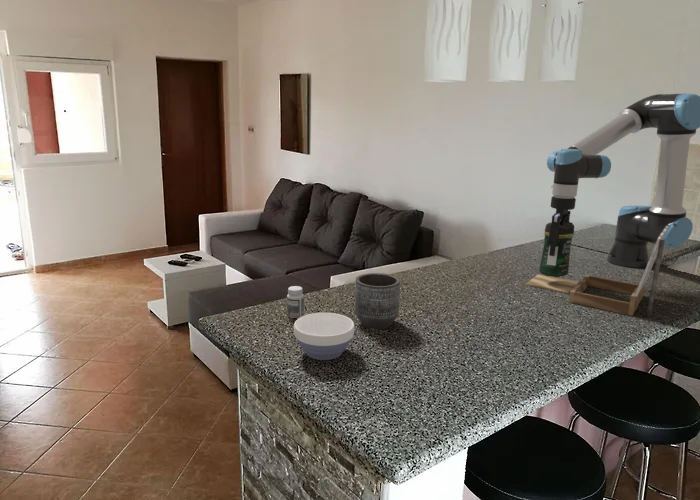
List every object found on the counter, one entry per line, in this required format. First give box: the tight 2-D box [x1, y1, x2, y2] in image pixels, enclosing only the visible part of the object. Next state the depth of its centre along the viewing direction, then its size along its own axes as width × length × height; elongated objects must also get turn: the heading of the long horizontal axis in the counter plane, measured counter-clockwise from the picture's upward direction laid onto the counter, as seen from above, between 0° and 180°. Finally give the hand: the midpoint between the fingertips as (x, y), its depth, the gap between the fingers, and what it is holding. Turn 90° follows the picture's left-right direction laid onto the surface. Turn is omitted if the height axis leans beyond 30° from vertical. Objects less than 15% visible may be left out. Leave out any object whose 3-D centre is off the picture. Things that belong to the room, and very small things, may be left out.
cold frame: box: [568, 226, 668, 317], centre depth 161 cm, size 22×22×24 cm
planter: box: [354, 272, 401, 330], centre depth 141 cm, size 12×12×13 cm
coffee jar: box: [538, 221, 575, 278], centre depth 176 cm, size 10×8×19 cm
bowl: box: [293, 312, 356, 361], centre depth 124 cm, size 14×14×8 cm
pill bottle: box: [286, 285, 305, 319], centre depth 146 cm, size 5×5×8 cm
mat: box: [525, 273, 580, 295], centre depth 179 cm, size 14×14×1 cm
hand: (555, 261), depth 177 cm, fingers closed on coffee jar, 9 cm apart
